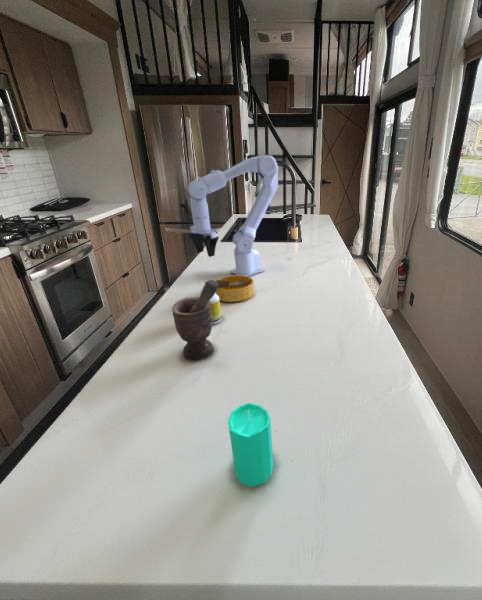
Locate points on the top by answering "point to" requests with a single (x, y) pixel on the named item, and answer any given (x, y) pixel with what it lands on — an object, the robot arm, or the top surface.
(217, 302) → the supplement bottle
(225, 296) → the bowl
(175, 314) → the mortar and pestle
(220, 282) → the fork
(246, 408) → the candle
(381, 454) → the top surface
